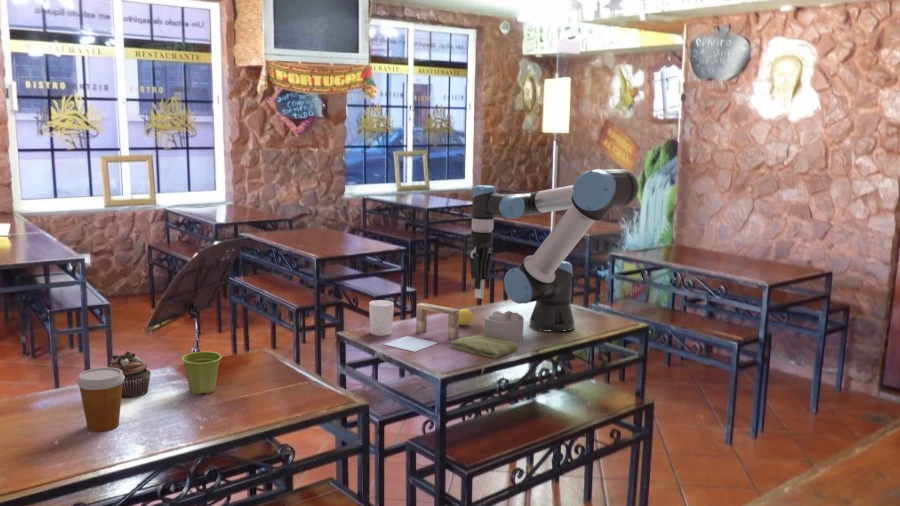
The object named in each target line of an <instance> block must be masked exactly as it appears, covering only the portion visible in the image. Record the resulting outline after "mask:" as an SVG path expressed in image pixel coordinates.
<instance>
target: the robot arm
mask: <svg viewBox="0 0 900 506" xmlns="http://www.w3.org/2000/svg"><path fill="white" fill-rule="evenodd" d="M639 189H640V187H639V182H638V179H637V178H636V176H635V175H634V174H633V173H632V172H630V171H629V170H627V169H624V168H623V169H622V168H615V169H613V168H612V169H610V168H609V169H603V168H596V169H595V168H594V169H591V170H587V171H585V172H583V173H581V174H580V175H579V176H578V177H577V178H576V179H575V180H574V184H571V185H567V186H566V185H565V186H560V187H555V188H549V189H544V190H539V191H533V192H525V193H524V192H522V193H509V194H507V193H497V192H496V187H495V186H493V185H490V184H489V185H488V184H487V185H486V184H485V185H483V184H482V185H480V184H476V185H475V186H474V187H473V191H472V192H473V193H472V207H471V208H472V209H471V231H470V241H471V242H473V246H472V251H469V252H468V253H467V255H468V258H469V264H470V275H471V279H472V280H474V298H476V299H481V300H482V299H484V297H485V295H484V292H485V280H488V277H489V276H490V275H489V274H490V268H491V264H492V263H491V262H492V256H493V254H494V249H493V248H491V246H490V244H491V243H493V242H494V232H493V231H494V225H495V224H494V221H495V220H494V219H495V216H496V217H503V218H506V219H519V218H520V217H523V216H536V215H537V216H538V215H540V214H544V213H550V212H551V213H552V212H558V211H565V210H566V212H565V213H564V214H563V216H562V217H561V219H560V220H558V222H557V224H556V225H555V226H554V227H553V228H552V230H551V231H550V233H549V234H548V235H547V237H546V238H544V240H543V242H542V243H541V245H540V246H539V247H538V248H537V250H536V251H535V252H534V254H533V255H531V254H530V255H527V256H526V257H524V259H523V260H522V262H521V263H520V264H519V265H518V266H517V267H512V268H511V269H509V270H508V271H507V272H506V273H505V275H504V278H503V284H504V291H505V293H506V295H507V297H508V298H509V299H510V300H511V301H512V302H513V303H515V304H525V305H526V304H530V303H533V302H535V305H534V307H533V310H532V313H531V315H530V318H529V327H531V328H532V327H533V328H532V329H534V328H536V329H535V330H537V329H541V330H540V331H542V330H551V331H563V330H569V329H572V328H574V329H575V323H576V322H575V317H574V314H573V311H572V310H573V309H572V307H571V306H572V305H571V300H572V283H573V275H574V273H573V265H572V264H571V262H569V261H566V260H565V259H566V258H567V257H568V256H569V254H570V253H571V252H572V251H573V250H574V248H575V247H576V245H577V244H578V243H579V242H580V241H581V239H582V238H583V237H584V236H585V234H586V233H587V232H588V231H589V229H590V228H591V227H592V226H593V225H594V224H595V222H597V223H598V222H602V221H603V220H604V219H605V218H606V216H607V215H608V214H609V212H610V211H611V210H612V209H618V208H624V207H627V206H629V205H631V204H632V203H633V202H634V201H635V200H636V198H637V196H638V194H639Z"/></svg>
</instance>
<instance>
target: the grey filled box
mask: <svg viewBox="0 0 900 506" xmlns="http://www.w3.org/2000/svg"><path fill="white" fill-rule="evenodd" d="M524 320H525V319H524V316H523V315H522V314H519V313H518V312H513V311H510V310H507V311H505V312H504V313H503V312H501V311H498V310H495V311H493V313H492V314H491V315H488V316H485V317H484V325H483V326H484V327H483V329H484V330H483V336H485V337H489V338H495V339H501V340H504V341H513V342H515V343H516V344H518V343H517V342H519V343H521V342H523V340H522V339H524V323H525V322H524ZM520 341H521V342H520Z"/></svg>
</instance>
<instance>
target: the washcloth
mask: <svg viewBox="0 0 900 506" xmlns="http://www.w3.org/2000/svg"><path fill="white" fill-rule="evenodd" d="M450 345H451V346H452V350H456V351H461V352H465V353H469V354H474V355H478V356H483V357H488V358H492V359H498V358H500V357H503V356H505V355H508V354H512V353H514V352H517V350H518V349H519V347H518V343H515V342H513V341H504V340H501V339H495V338H489V337H485V336H484V335H471V336H465V337H460V338H459V339H454V340H451V341H450Z"/></svg>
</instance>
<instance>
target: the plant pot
mask: <svg viewBox="0 0 900 506" xmlns="http://www.w3.org/2000/svg"><path fill="white" fill-rule="evenodd" d="M222 358H223V357H222V354H220V353H218V352H216V351H215V352H214V351H195V352H191V353H190V352H189V353H187V354H184V355H183V356H182V357H181V361H182V362H183V364H184V367H185V371H186V377H187V383H188V390H189V392H190V393H191V394H194V395H202V394H211V393H212V392H214V391H215V390H216V386H217V378H218V377H217V376H218V370H219V365H220V361H221V359H222Z"/></svg>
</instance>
